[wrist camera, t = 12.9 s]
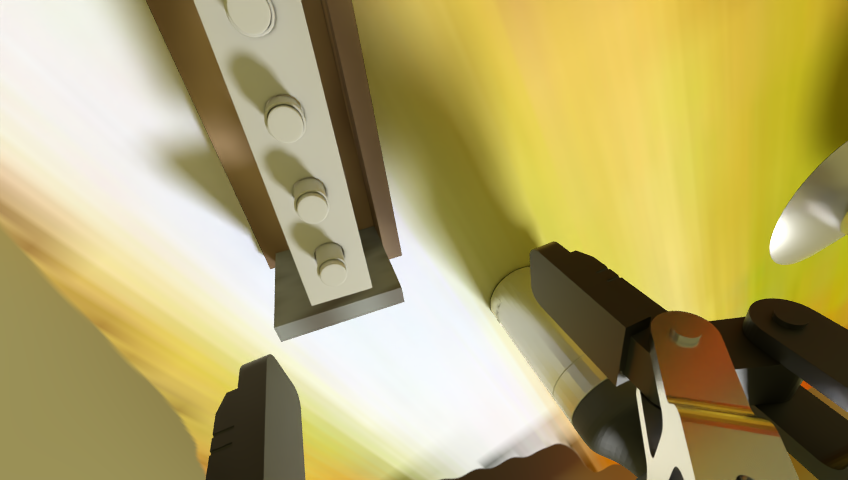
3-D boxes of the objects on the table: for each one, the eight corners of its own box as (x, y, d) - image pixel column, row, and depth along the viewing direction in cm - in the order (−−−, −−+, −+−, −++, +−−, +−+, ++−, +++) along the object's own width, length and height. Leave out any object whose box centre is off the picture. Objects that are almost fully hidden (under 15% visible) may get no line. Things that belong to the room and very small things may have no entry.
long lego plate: (349, 217, 35) (380, 308, 24) (302, 230, 34) (313, 330, 23) (252, -160, 21) (222, -345, 10) (167, -157, 20) (35, -358, 9)
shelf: (290, -227, 21) (299, -420, 12) (387, 227, 38) (422, 295, 29) (51, -222, 18) (-180, -461, 9) (270, 260, 36) (267, 346, 26)
